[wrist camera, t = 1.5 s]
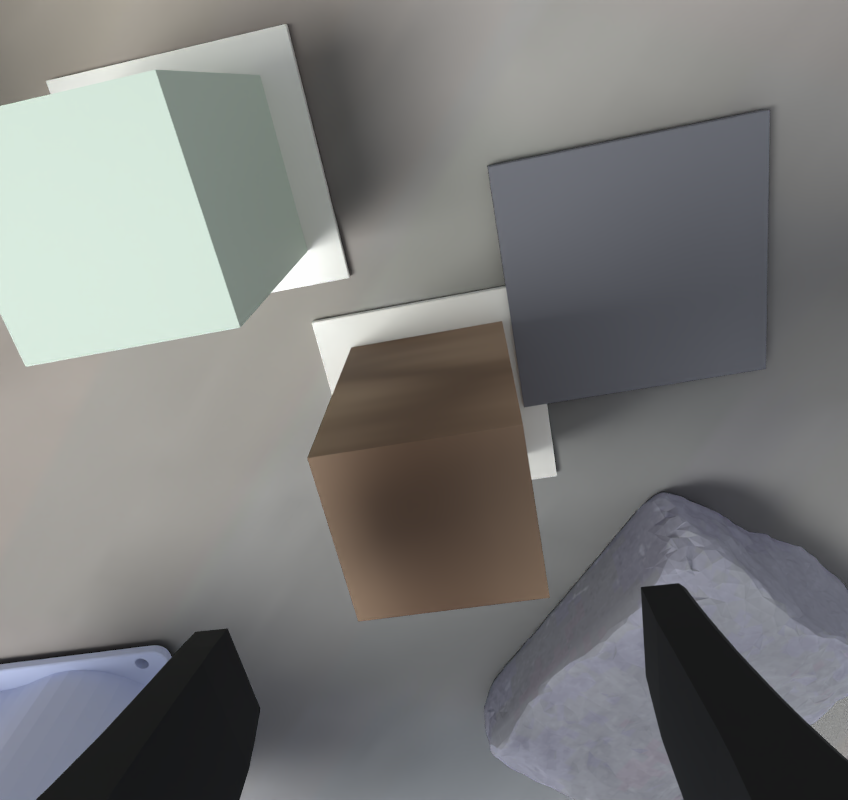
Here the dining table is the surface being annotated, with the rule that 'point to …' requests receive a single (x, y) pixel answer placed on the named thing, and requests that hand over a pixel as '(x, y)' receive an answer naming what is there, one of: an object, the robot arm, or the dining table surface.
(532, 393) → the charcoal mat
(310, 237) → the tile
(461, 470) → the walnut block
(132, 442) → the dining table surface
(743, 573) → the stone block
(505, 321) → the cream tile
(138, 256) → the sage block
